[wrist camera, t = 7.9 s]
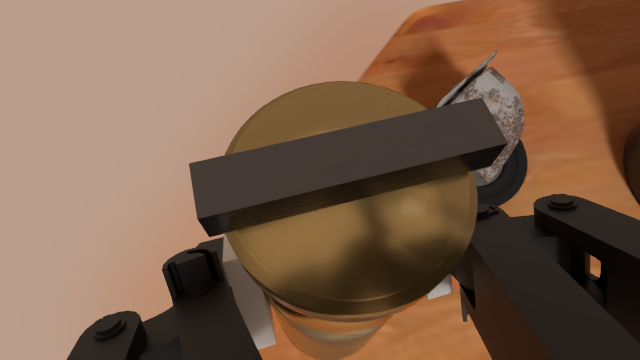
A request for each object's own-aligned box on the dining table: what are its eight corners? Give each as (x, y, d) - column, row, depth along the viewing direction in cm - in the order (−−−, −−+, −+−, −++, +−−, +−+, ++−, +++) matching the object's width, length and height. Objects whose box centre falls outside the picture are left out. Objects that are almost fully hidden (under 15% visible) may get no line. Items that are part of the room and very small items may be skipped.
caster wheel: (461, 235, 37) (384, 155, 39) (548, 153, 38) (469, 80, 40) (486, 227, 31) (392, 133, 33) (590, 129, 32) (493, 43, 34)
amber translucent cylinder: (367, 240, 20) (439, 24, 8) (403, 345, 17) (568, 247, 6) (259, 269, 19) (176, 76, 8) (283, 382, 17) (217, 349, 5)
